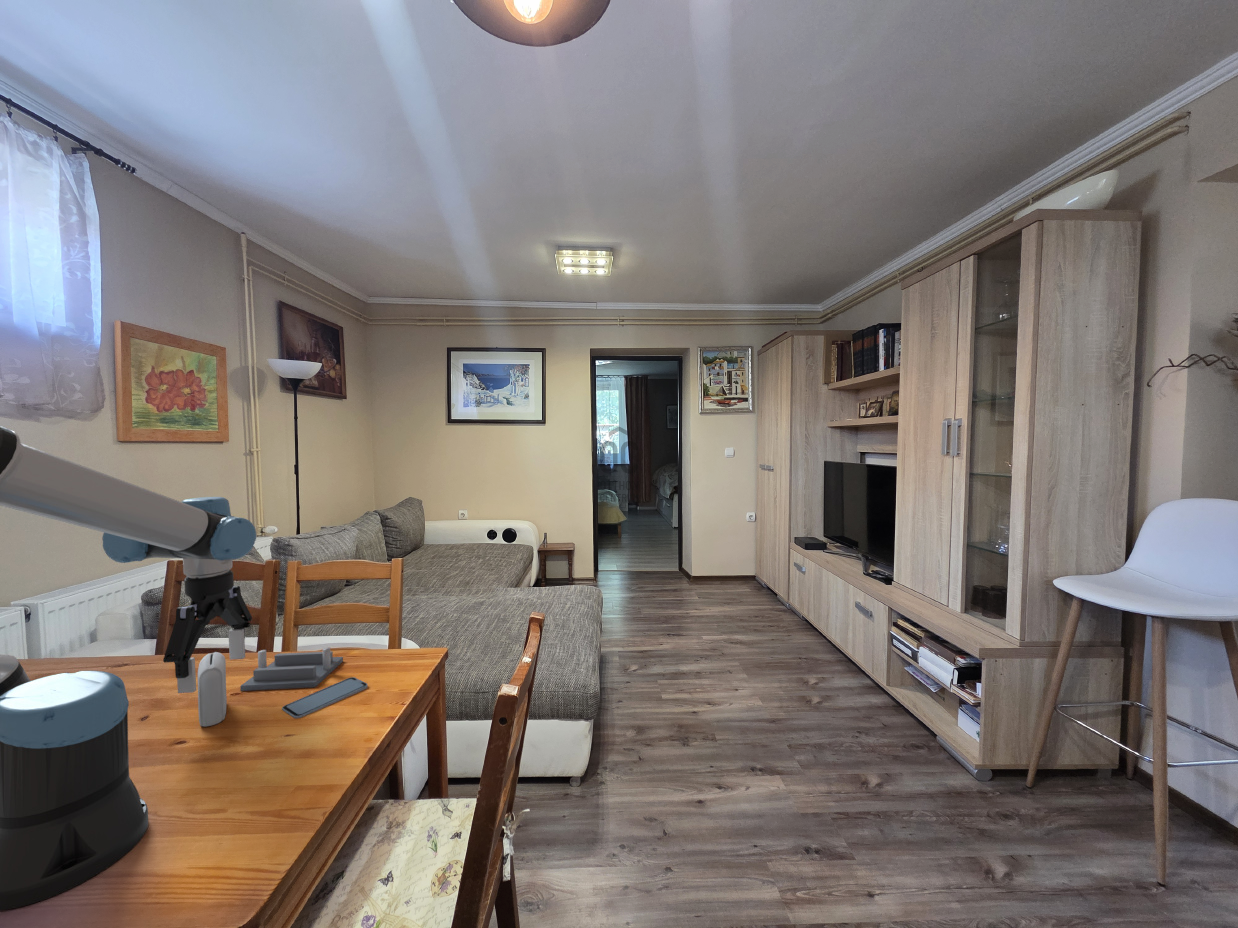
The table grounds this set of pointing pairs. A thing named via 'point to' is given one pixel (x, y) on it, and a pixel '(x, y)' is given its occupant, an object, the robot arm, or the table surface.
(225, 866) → the table surface
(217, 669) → the photo printer
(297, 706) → the smartphone
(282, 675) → the cradle
